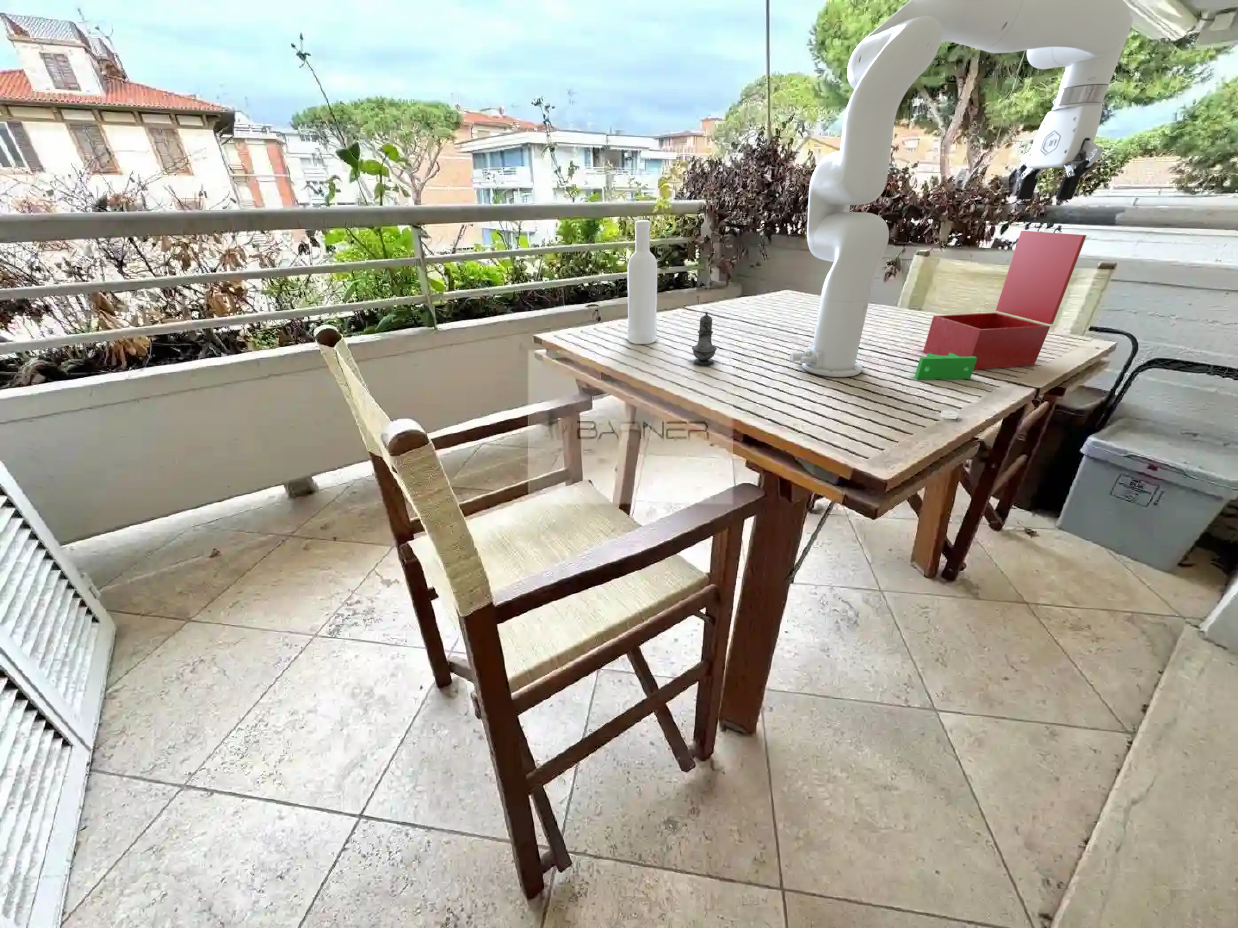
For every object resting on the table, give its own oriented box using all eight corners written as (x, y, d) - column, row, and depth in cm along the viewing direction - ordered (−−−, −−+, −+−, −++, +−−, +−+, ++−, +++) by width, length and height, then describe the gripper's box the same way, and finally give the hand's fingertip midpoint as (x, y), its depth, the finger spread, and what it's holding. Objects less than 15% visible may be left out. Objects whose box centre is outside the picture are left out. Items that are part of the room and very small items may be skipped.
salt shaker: (688, 365, 114) (690, 313, 109) (694, 358, 119) (697, 308, 113) (712, 367, 112) (716, 315, 107) (718, 360, 117) (722, 309, 111)
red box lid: (1083, 235, 96) (1106, 233, 96) (1020, 231, 109) (1041, 229, 109) (1049, 324, 104) (1071, 322, 105) (995, 310, 117) (1014, 309, 118)
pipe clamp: (959, 373, 106) (966, 352, 104) (970, 379, 102) (977, 358, 100) (908, 373, 106) (914, 353, 104) (916, 379, 103) (923, 358, 100)
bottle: (622, 341, 134) (620, 221, 120) (639, 335, 140) (639, 219, 125) (644, 346, 130) (645, 221, 115) (662, 339, 135) (664, 220, 120)
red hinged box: (967, 370, 107) (980, 330, 103) (922, 351, 120) (933, 315, 116) (1034, 365, 109) (1050, 326, 105) (983, 348, 122) (996, 312, 117)
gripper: (1023, 107, 102) (994, 200, 110) (1105, 91, 87) (1063, 200, 95) (1056, 107, 102) (1024, 199, 111) (1142, 92, 87) (1098, 199, 96)
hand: (1042, 199), depth 103 cm, fingers open, 9 cm apart
